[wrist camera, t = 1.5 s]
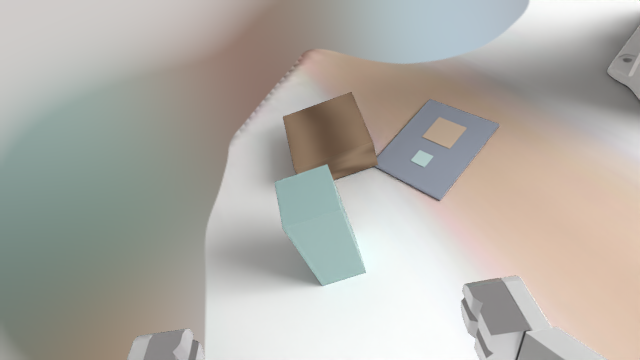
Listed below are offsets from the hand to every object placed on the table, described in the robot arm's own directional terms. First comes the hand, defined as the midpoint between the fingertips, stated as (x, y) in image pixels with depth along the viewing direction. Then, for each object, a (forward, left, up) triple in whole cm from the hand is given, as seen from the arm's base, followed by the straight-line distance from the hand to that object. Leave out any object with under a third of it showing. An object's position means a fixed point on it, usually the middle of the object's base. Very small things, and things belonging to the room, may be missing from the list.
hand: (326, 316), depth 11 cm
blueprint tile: (-25, -8, -24) cm, 36 cm away
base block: (-20, -19, -24) cm, 36 cm away
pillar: (-8, -11, -24) cm, 27 cm away
